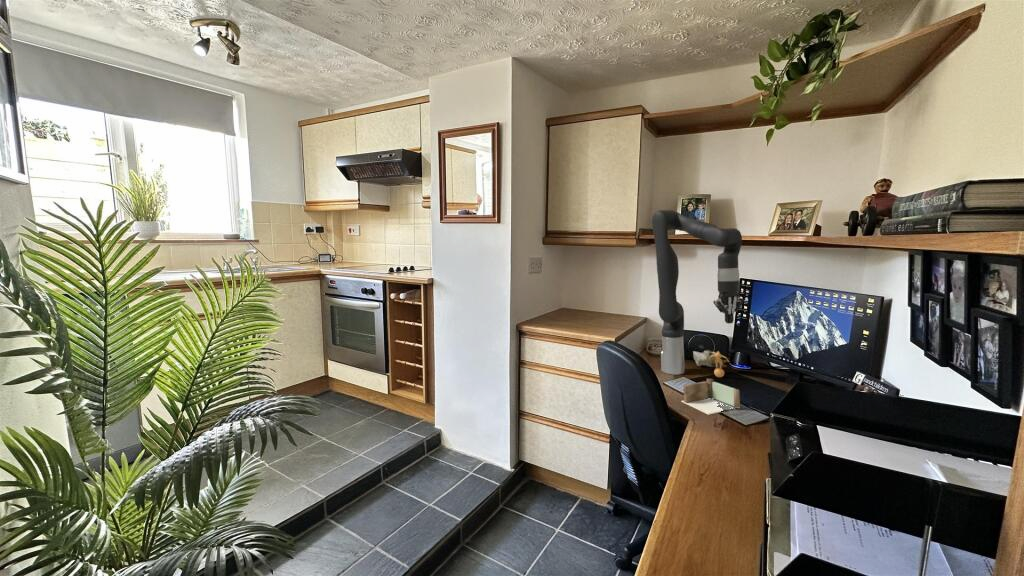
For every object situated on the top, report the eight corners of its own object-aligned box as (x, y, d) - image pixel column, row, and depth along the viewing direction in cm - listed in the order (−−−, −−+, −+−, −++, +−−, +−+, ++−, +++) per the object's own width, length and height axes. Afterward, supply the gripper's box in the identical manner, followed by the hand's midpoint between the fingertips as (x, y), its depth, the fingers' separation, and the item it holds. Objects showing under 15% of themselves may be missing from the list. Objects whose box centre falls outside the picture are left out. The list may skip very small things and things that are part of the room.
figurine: (730, 376, 171) (729, 349, 170) (729, 380, 166) (728, 353, 165) (709, 374, 176) (708, 348, 175) (707, 378, 170) (707, 351, 170)
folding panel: (712, 398, 147) (711, 382, 146) (715, 397, 147) (715, 381, 147) (737, 407, 137) (736, 391, 136) (741, 406, 137) (740, 390, 137)
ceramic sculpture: (694, 345, 195) (728, 348, 188) (693, 362, 196) (727, 366, 189) (692, 350, 186) (728, 354, 179) (691, 368, 187) (727, 372, 180)
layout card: (708, 414, 134) (708, 413, 134) (681, 401, 147) (681, 400, 147) (740, 408, 138) (739, 406, 138) (710, 395, 151) (710, 394, 151)
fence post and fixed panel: (687, 404, 144) (686, 385, 144) (683, 402, 147) (682, 383, 146) (715, 398, 148) (714, 379, 147) (710, 396, 150) (710, 378, 150)
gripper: (721, 281, 148) (722, 326, 150) (750, 278, 151) (750, 322, 153) (707, 280, 156) (708, 323, 157) (734, 277, 159) (735, 320, 160)
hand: (729, 323), depth 155 cm, fingers closed
